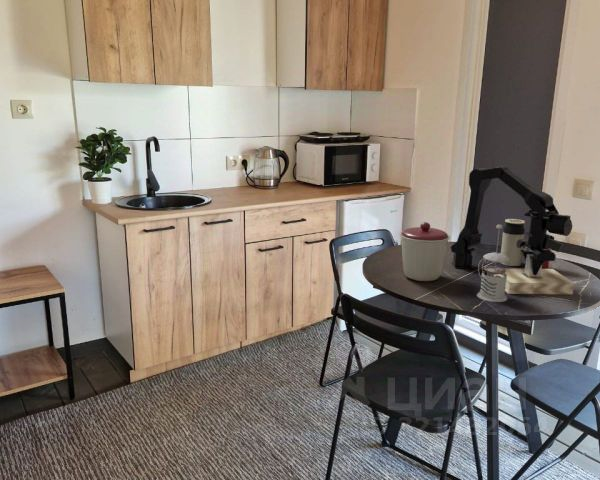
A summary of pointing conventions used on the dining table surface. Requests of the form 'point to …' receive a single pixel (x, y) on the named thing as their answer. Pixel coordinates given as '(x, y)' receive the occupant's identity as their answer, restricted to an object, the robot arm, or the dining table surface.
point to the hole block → (537, 283)
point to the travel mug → (512, 241)
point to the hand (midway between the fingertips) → (532, 272)
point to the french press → (493, 277)
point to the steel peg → (530, 268)
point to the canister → (423, 252)
